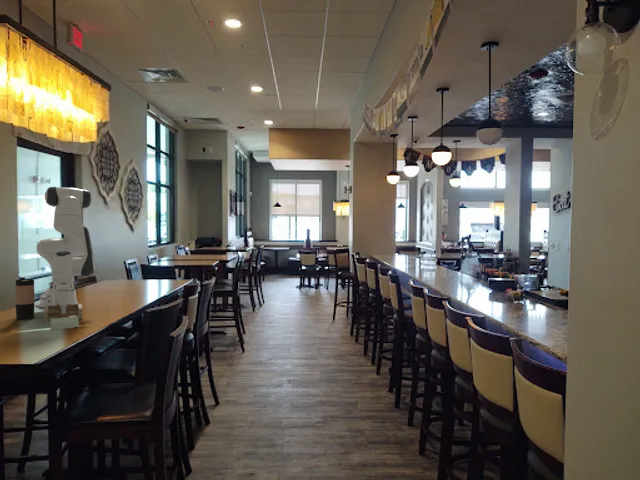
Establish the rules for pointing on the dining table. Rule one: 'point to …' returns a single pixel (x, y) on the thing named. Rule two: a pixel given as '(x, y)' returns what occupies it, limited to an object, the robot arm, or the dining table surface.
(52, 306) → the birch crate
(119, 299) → the dining table surface
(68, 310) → the walnut block
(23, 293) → the travel mug
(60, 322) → the sage stand
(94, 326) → the dining table surface
